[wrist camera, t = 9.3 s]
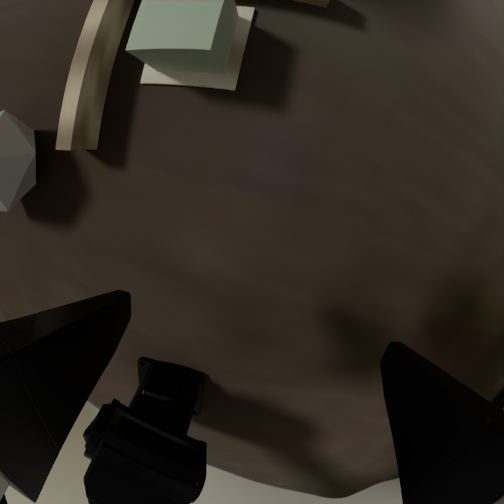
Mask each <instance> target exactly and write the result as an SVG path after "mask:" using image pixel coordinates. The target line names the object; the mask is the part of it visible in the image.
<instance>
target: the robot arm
mask: <svg viewBox="0 0 504 504" xmlns="http://www.w3.org/2000/svg"><path fill="white" fill-rule="evenodd" d="M130 318H131V295H130V293H129V292H126V291H122V290H116V291H113V292H109V293H105V294H102V295H98V296H95V297H91V298H88V299H84V300H81V301H77V302H74V303H70V304H67V305H63V306H60V307H56V308H53V309H49V310H46V311H42V312H39V313H37V314H36V313H35V314H32V315H28V316H24V317H21V318H17V319H13V320H8V321H4V322H0V504H7V501H6V498H5V495H4V493H5V491H6V490H7V487H8V486H9V485H10V486H11V487H13V488H14V489H15V490H17V491H18V492H20V493H21V494H23V495H24V496H25V497H27V498H28V499H30V500H31V501H33V502H36V501H37V499H38V497H39V494H40V492H41V490H42V488H43V485H44V483H45V481H46V479H47V477H48V475H49V473H50V471H51V468H52V466H53V464H54V462H55V460H56V458H57V456H58V454H59V452H60V450H61V448H62V446H63V444H64V442H65V440H66V438H67V436H68V434H69V432H70V431H71V429H72V427H73V425H74V423H75V421H76V419H77V418H78V416H79V414H80V412H81V410H82V408H83V406H84V405H85V403H86V401H87V399H88V398H89V396H90V394H91V392H92V391H93V389H94V387H95V385H96V384H97V382H98V380H99V379H100V377H101V375H102V374H103V372H104V370H105V368H106V367H107V365H108V363H109V362H110V360H111V358H112V357H113V355H114V353H115V351H116V349H117V347H118V345H119V342H120V340H121V338H122V336H123V334H124V331H125V329H126V327H127V325H128V323H129V321H130ZM143 362H144V363H143ZM380 368H381V375H382V383H383V391H384V398H385V404H386V409H387V413H388V418H389V422H390V427H391V432H392V437H393V443H394V448H395V454H396V459H397V465H398V472H399V479H400V485H401V493H402V500H403V504H504V410H503V409H501V408H499V407H498V406H496V405H494V404H493V403H491V402H489V401H488V400H486V399H485V398H483V397H482V396H480V395H479V394H477V393H476V392H474V391H473V390H471V389H470V388H468V387H467V386H465V385H464V384H462V383H461V382H459V381H458V380H456V379H455V378H454V377H452V376H451V375H449V374H448V373H446V372H445V371H443V370H442V369H440V368H439V367H437V366H436V365H434V364H433V363H431V362H430V361H429V360H427V359H426V358H424V357H423V356H421V355H420V354H418V353H417V352H415V351H414V350H412V349H411V348H409V347H408V346H406V345H405V344H403V343H402V342H395V341H392V342H391V343H390V344H389V345H388V347H387V349H386V351H385V353H384V355H383V357H382V359H381V362H380ZM138 376H139V387H138V389H137V391H136V393H135V395H134V397H133V399H132V401H131V402H130V404H129V406H128V407H127V406H125V405H123V404H121V403H120V401H118V400H116V399H115V398H114V399H113V401H112V402H111V404H109V403H108V404H103V406H102V407H101V409H100V411H99V413H98V415H97V416H96V418H95V419H94V420H93V421H92V422H91V424H90V425H89V426H88V427H87V429H86V430H85V432H84V434H83V437H84V439H85V442H86V445H85V448H86V450H85V453H84V456H85V457H87V458H89V459H91V463H90V465H89V467H88V469H87V471H86V474H85V476H84V484H85V490H86V495H87V498H88V502H89V504H190V503H193V502H194V501H195V500H196V499H197V498H198V497H199V495H200V493H201V491H202V489H203V486H204V483H205V479H206V447H207V443H206V442H204V441H201V440H200V441H199V440H196V439H194V438H191V437H189V436H187V433H188V429H189V425H190V422H191V418H192V415H194V416H198V415H199V414H200V408H201V400H202V392H203V384H204V374H202V373H201V372H197V371H192V370H188V369H184V368H180V367H176V366H172V365H169V364H165V363H161V362H158V361H154V360H151V359H147V358H144V357H140V358H139V360H138ZM199 377H200V378H199Z"/></svg>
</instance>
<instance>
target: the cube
mask: <svg viewBox="0 0 504 504" xmlns="http://www.w3.org/2000/svg"><path fill="white" fill-rule="evenodd" d="M238 17H239V15H238V11H237V6H236V2H235V0H142V2H141V4H140V7H139V10H138V13H137V16H136V18H135V21H134V24H133V27H132V30H131V34H130V37H129V40H128V43H127V47H126V51H127V52H129V53H130V54H132V55H134V56H135V57H137V58H138V59H140V60H141V61H143V62H144V63H146V64H147V65H149V66H150V67H152V68H153V69H155V70H156V71H184V72H201V73H214V74H224V75H225V71H226V66H227V62H228V58H229V53H230V49H231V45H232V41H233V37H234V33H235V29H236V25H237V21H238Z"/></svg>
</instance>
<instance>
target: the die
mask: <svg viewBox="0 0 504 504" xmlns="http://www.w3.org/2000/svg"><path fill="white" fill-rule="evenodd" d="M35 185H36V149H35V138H34V130H33V129H31V128H30V127H28V126H27V125H26V124H24V123H23V122H21V121H20V120H18V119H17V118H15V117H14V116H13V115H11V114H10V113H8V112H7V111H5V110H3V111H1V112H0V211H3V212H8V211H9V210H10V209H11V208H12V207H13V206H14V205H15V204H16V203H17V202H18V201H19V200H20V199H21V198H22V197H23V196H24V195H25V194H26V193H27V192H28V191H29V190H30V189H31V188H32V187H34V186H35Z"/></svg>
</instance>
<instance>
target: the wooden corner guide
mask: <svg viewBox="0 0 504 504" xmlns="http://www.w3.org/2000/svg"><path fill="white" fill-rule="evenodd" d="M134 1H135V0H94V1H93V3H92V6H91V8H90V11H89V13H88V16H87V19H86V21H85V24H84V27H83V29H82V32H81V35H80V38H79V41H78V44H77V48H76V51H75V54H74V58H73V61H72V65H71V69H70V72H69V76H68V80H67V85H66V89H65V94H64V99H63V104H62V109H61V114H60V120H59V127H58V134H57V141H56V150H90V149H97V145H98V138H99V131H100V125H101V119H102V114H103V108H104V103H105V99H106V94H107V89H108V85H109V81H110V76H111V72H112V69H113V65H114V61H115V57H116V54H117V50H118V47H119V44H120V41H121V37H122V34H123V31H124V28H125V25H126V22H127V20H128V17H129V14H130V11H131V9H132V6H133V3H134ZM293 1H298V2H303V3H308V4H312V5H317V6H321V7H325V8H327V5H328V3H329V0H293ZM237 11H238V15H239V17H238V21H237V25H236V29H235V33H234V37H233V41H232V45H231V49H230V53H229V58H228V62H227V66H226V71H225V75H224V74H214V73H201V72H184V71H156V70H155V69H153V68H152V67H150V66H149V65H147V64H146V63H145V65H144V69H143V73H142V77H141V81H140V83H141V84H165V85H183V86H196V87H207V88H216V89H225V90H233V91H235V90H236V85H237V81H238V76H239V72H240V68H241V63H242V59H243V55H244V51H245V46H246V42H247V38H248V34H249V30H250V26H251V22H252V18H253V15H254V11H255V8H253V7H244V6H237Z"/></svg>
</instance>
